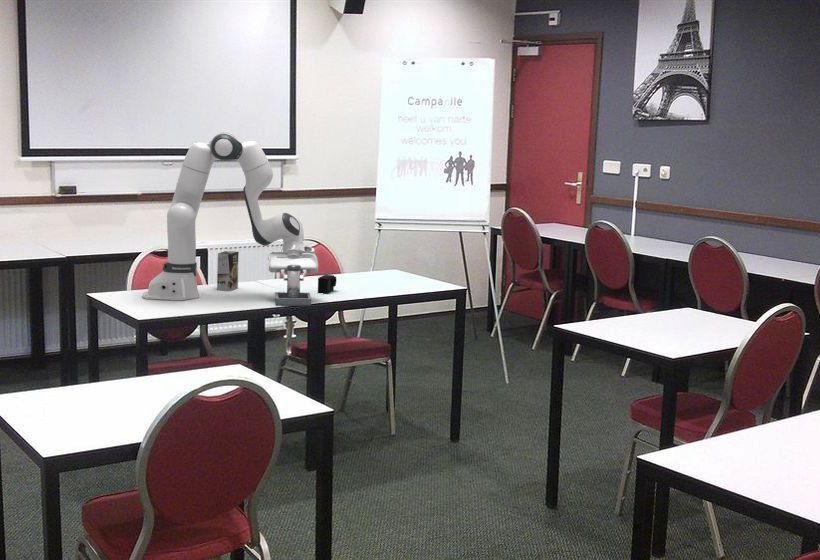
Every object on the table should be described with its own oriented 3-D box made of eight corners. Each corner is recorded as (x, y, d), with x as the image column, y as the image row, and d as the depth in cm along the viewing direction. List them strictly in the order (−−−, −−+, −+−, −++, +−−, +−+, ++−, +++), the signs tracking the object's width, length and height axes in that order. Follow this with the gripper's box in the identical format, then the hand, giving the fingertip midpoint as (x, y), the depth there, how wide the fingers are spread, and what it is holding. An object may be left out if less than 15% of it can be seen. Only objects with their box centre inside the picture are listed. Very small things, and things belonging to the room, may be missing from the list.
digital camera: (329, 294, 413) (330, 278, 412) (317, 293, 414) (318, 277, 413) (336, 290, 423) (336, 275, 422) (324, 289, 424) (324, 274, 423)
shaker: (286, 297, 387) (287, 266, 385) (286, 295, 392) (287, 264, 390) (300, 297, 387) (300, 266, 385) (299, 295, 393) (300, 264, 391)
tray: (275, 305, 382) (276, 298, 382) (275, 299, 396) (275, 292, 395) (311, 306, 384) (311, 298, 384) (309, 299, 398) (309, 292, 398)
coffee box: (230, 291, 410) (231, 253, 407) (216, 290, 411) (217, 252, 409) (238, 288, 419) (239, 251, 416) (224, 286, 420) (225, 250, 417)
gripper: (268, 247, 392) (267, 274, 384) (318, 248, 395) (319, 275, 387) (267, 256, 397) (267, 284, 389) (317, 257, 400) (318, 284, 392)
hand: (293, 279), depth 388 cm, fingers closed on shaker, 5 cm apart
